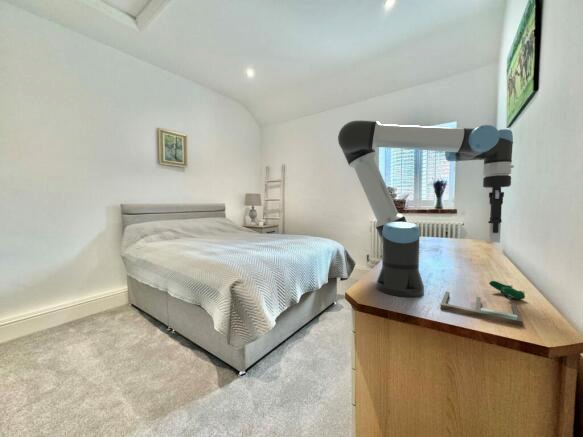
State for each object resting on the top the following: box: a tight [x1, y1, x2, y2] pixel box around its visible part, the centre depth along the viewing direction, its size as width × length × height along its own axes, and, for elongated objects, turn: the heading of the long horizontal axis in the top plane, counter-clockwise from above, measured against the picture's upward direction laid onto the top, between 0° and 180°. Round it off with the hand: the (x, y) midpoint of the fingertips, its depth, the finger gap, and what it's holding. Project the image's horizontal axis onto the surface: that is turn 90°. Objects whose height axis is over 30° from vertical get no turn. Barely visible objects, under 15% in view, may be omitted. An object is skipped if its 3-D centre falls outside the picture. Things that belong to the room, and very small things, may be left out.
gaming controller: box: [488, 280, 526, 301], centre depth 79 cm, size 9×4×6 cm
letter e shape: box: [440, 291, 524, 327], centre depth 69 cm, size 17×14×2 cm
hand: (494, 241), depth 87 cm, fingers open, 6 cm apart
